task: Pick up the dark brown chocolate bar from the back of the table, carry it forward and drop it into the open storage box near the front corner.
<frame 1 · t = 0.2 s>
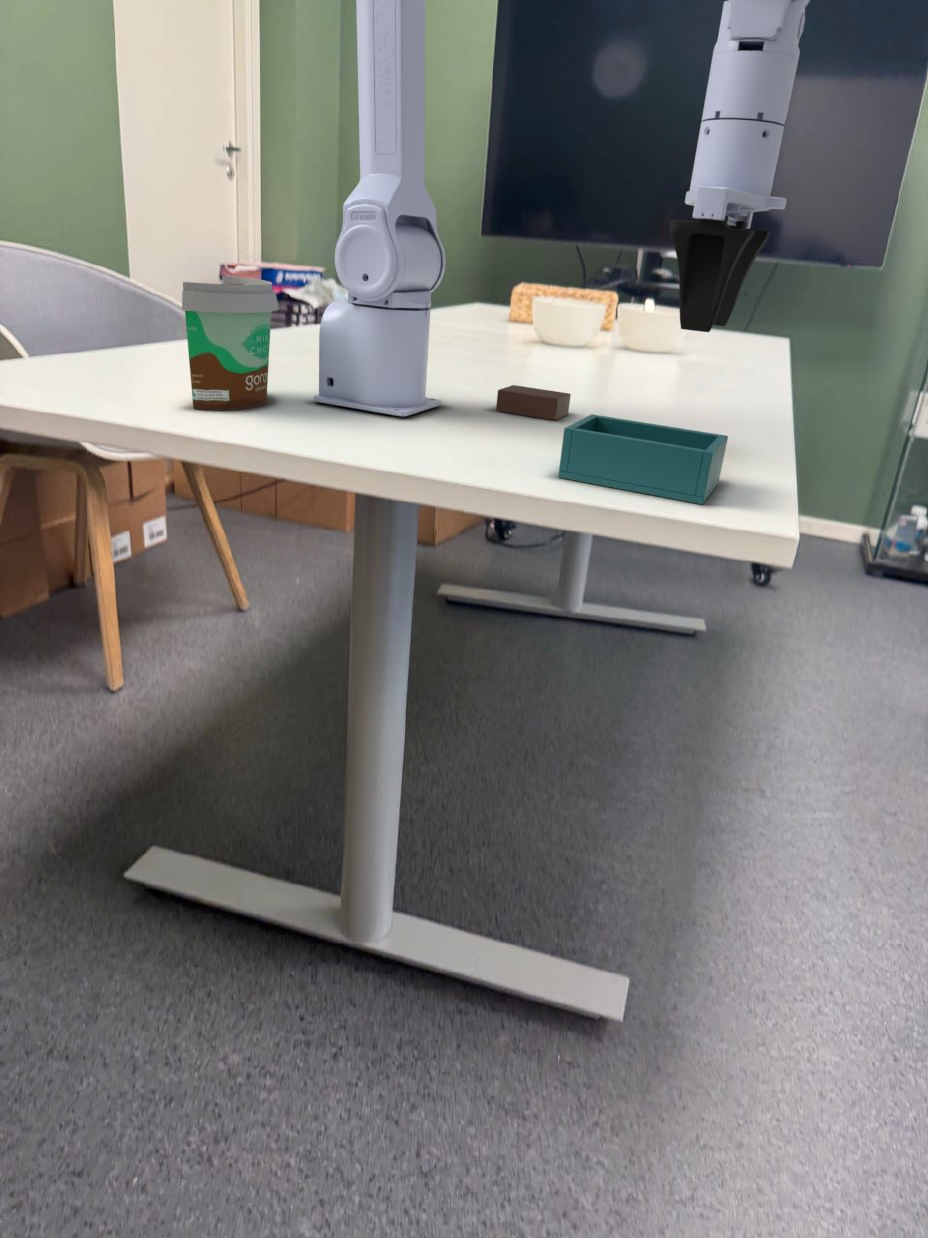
hand: (704, 327, 66), 10 cm above the table, tool pointing down, fingers open, 7 cm apart
open storage box: (639, 480, 61), on the table
food container: (244, 403, 76), on the table
chocolate bar: (532, 412, 82), on the table
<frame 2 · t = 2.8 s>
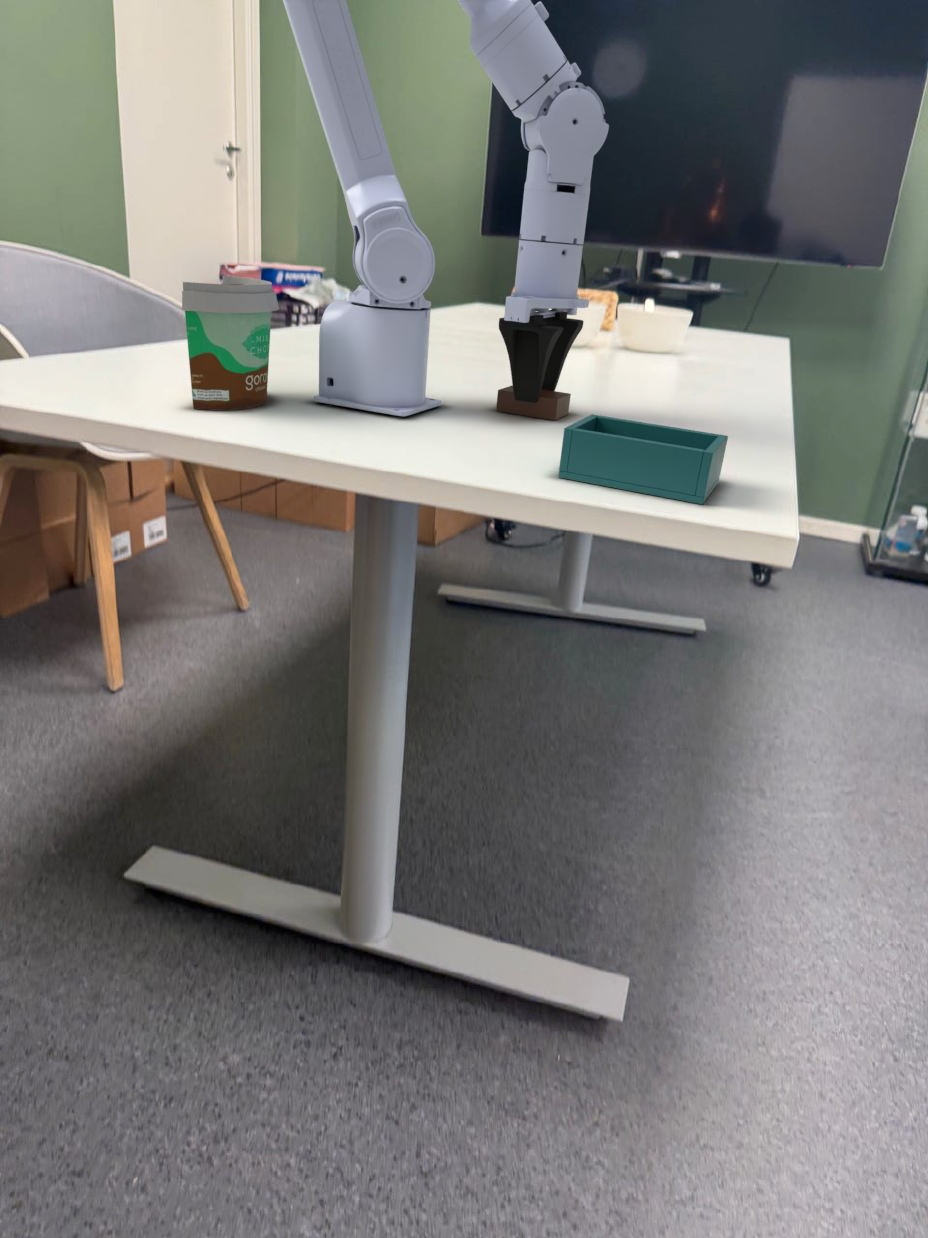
hand: (533, 397, 81), 1 cm above the table, tool pointing down, fingers closed on chocolate bar, 4 cm apart
chocolate bar: (532, 412, 82), on the table, touching gripper
everything else where it was.
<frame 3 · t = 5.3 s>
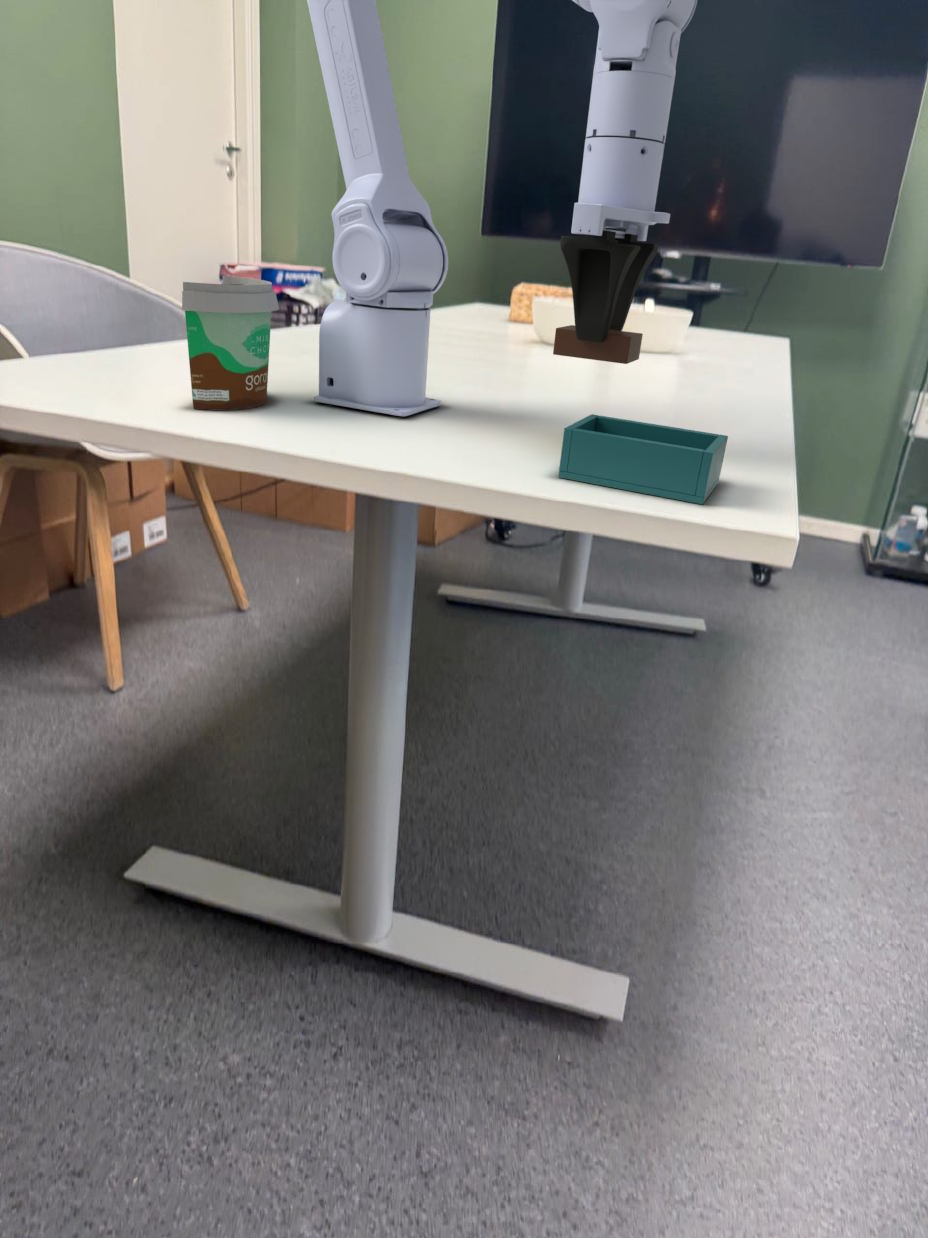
hand: (598, 338, 67), 8 cm above the table, tool pointing down, fingers closed on chocolate bar, 4 cm apart
chocolate bar: (596, 356, 68), point 7 cm above the table, touching gripper
everything else where it was.
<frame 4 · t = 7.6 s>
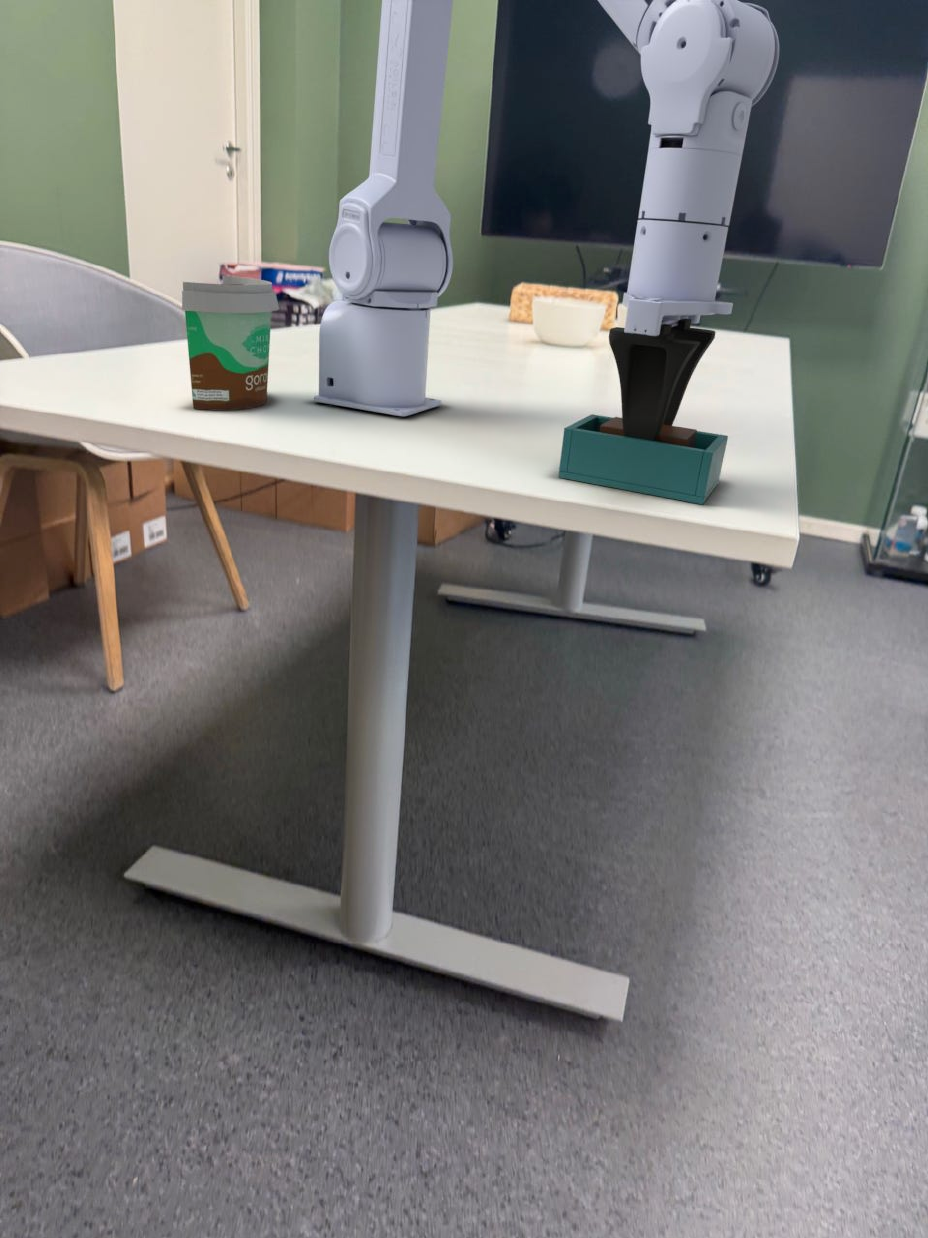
hand: (647, 435, 60), 3 cm above the table, tool pointing down, fingers closed on chocolate bar, 4 cm apart
chocolate bar: (644, 455, 60), point 2 cm above the table, touching gripper
everything else where it was.
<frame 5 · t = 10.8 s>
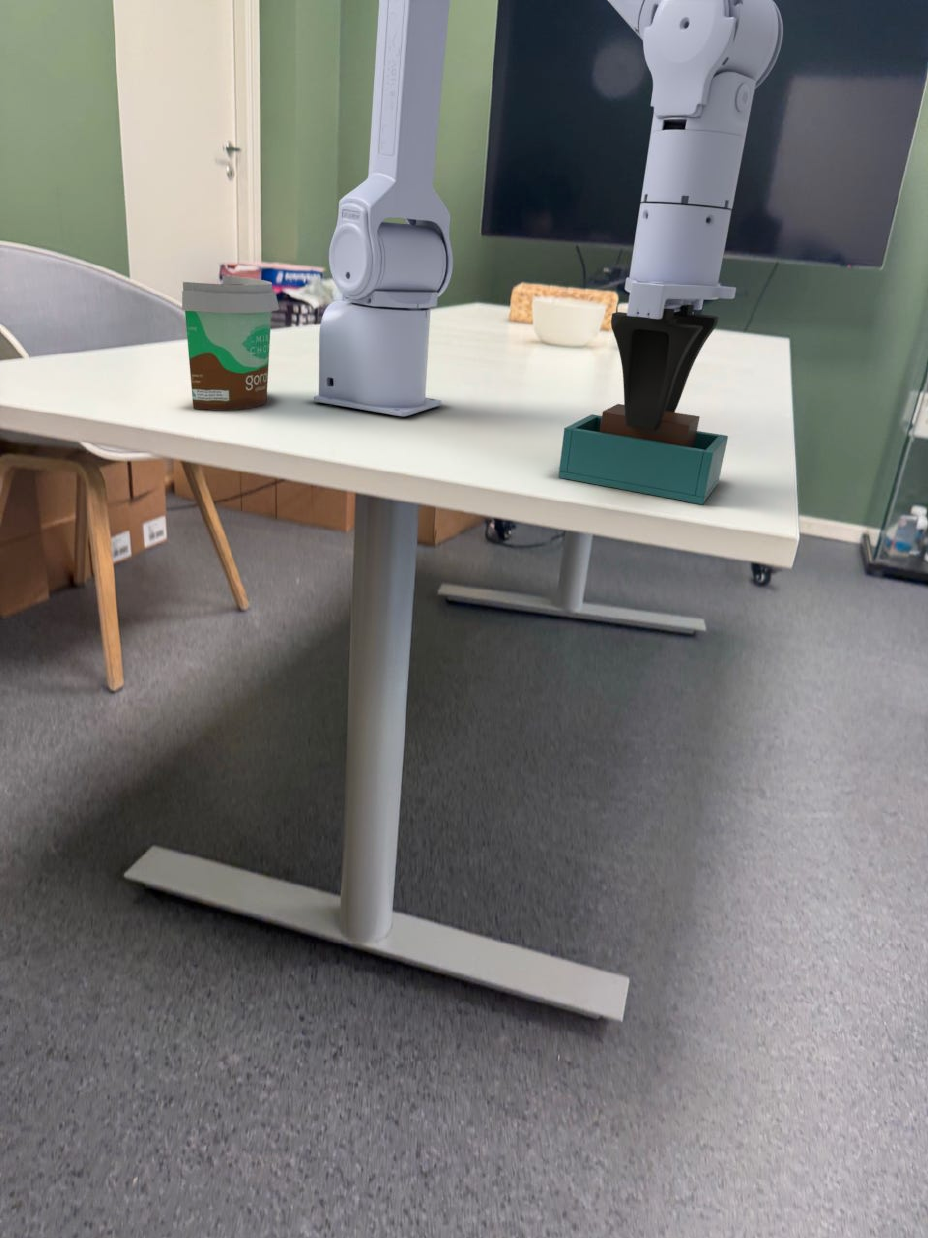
hand: (649, 422, 59), 4 cm above the table, tool pointing down, fingers closed on chocolate bar, 4 cm apart
chocolate bar: (646, 442, 60), point 3 cm above the table, touching gripper
everything else where it was.
when the fingers open (4 cm above the table, at t = 13.2 s): chocolate bar drops 2 cm, resting on open storage box.
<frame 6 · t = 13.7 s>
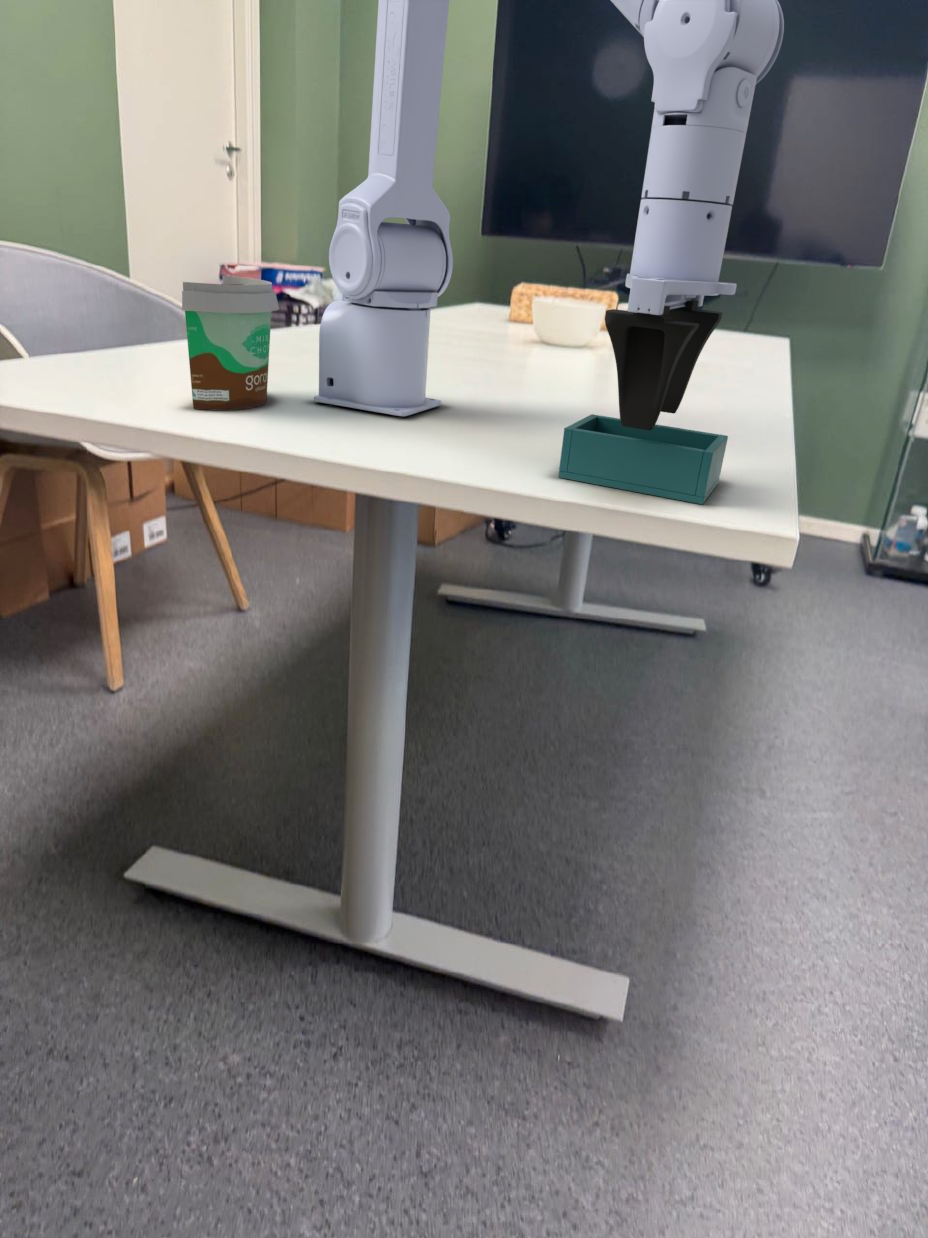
hand: (649, 418, 59), 4 cm above the table, tool pointing down, fingers open, 7 cm apart
chocolate bar: (641, 473, 61), resting on open storage box
everything else where it was.
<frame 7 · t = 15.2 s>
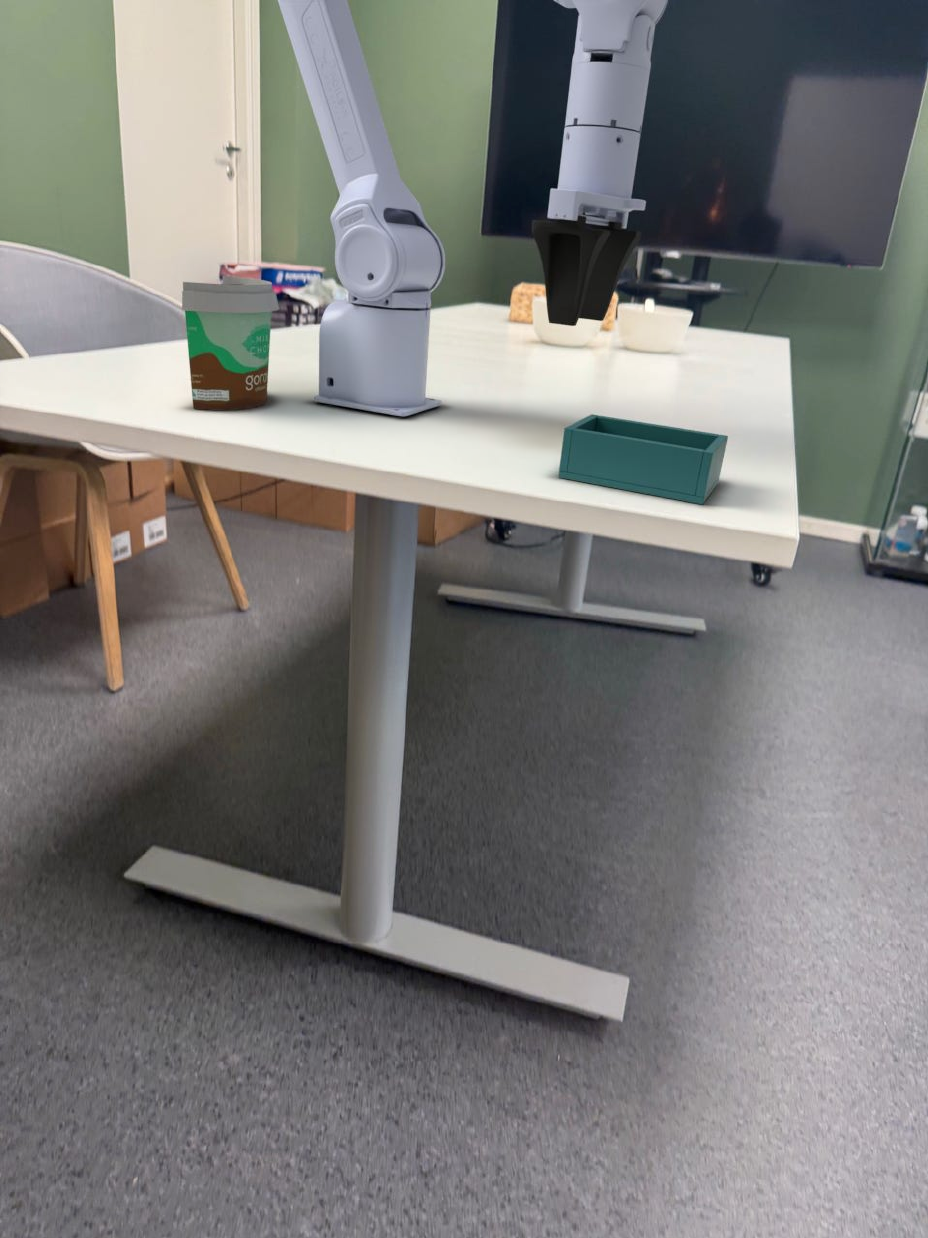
hand: (577, 321, 69), 9 cm above the table, tool pointing down, fingers open, 7 cm apart
nothing on the table moved.
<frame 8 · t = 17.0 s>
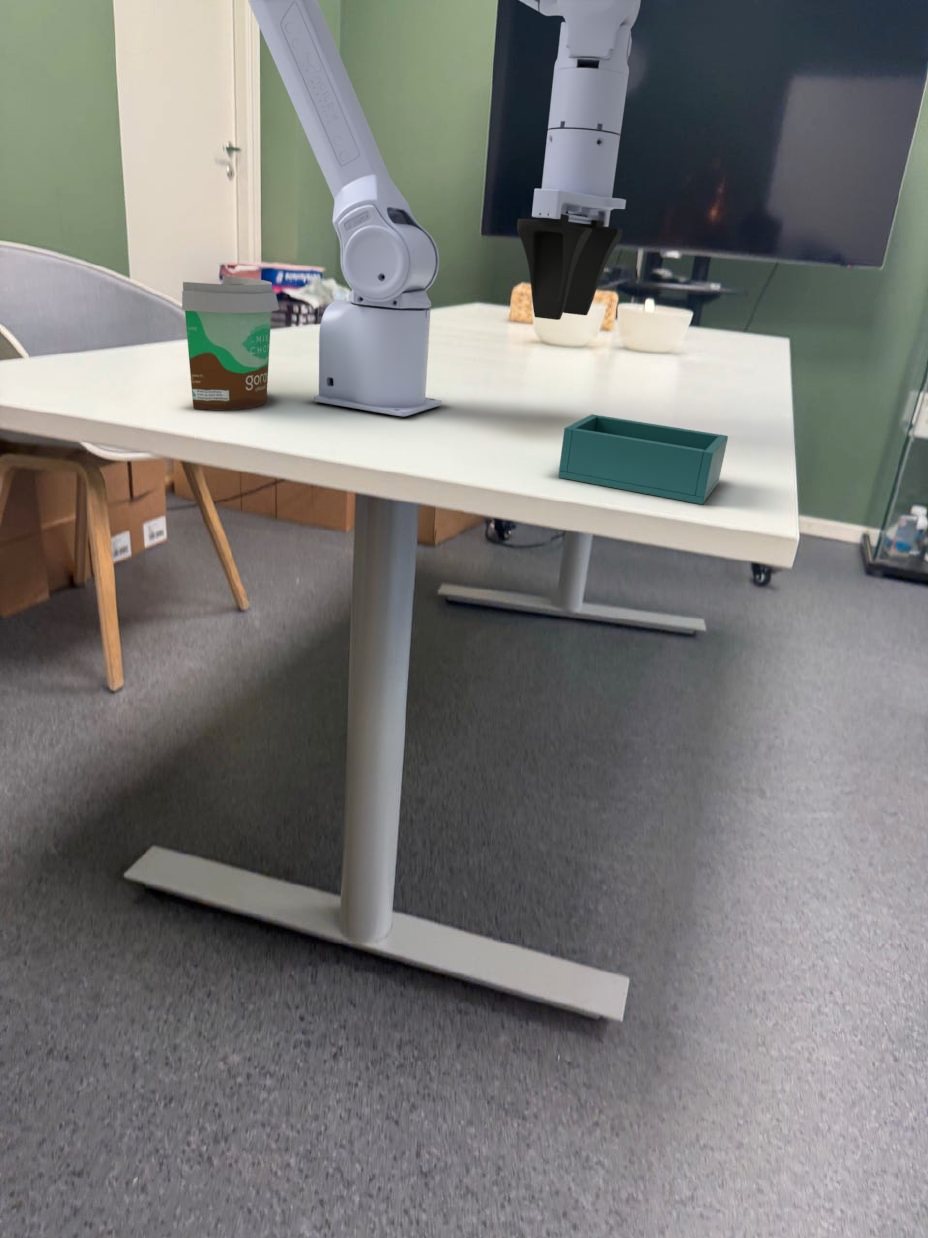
hand: (561, 316, 72), 9 cm above the table, tool pointing down, fingers open, 7 cm apart
nothing on the table moved.
at the end: chocolate bar inside the target area in the open storage box (0.1 cm from its centre), point 0.5 cm above the open storage box's base; the gripper is holding nothing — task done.
